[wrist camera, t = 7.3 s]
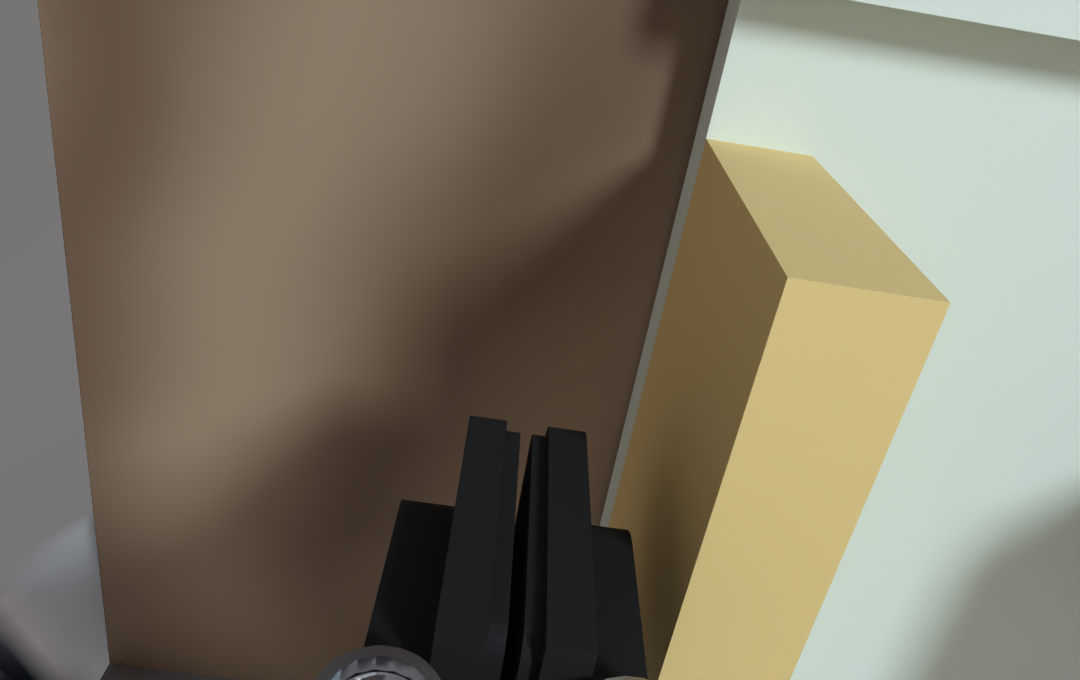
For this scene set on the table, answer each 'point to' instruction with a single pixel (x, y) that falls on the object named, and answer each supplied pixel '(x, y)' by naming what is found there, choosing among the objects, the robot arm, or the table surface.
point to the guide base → (344, 282)
